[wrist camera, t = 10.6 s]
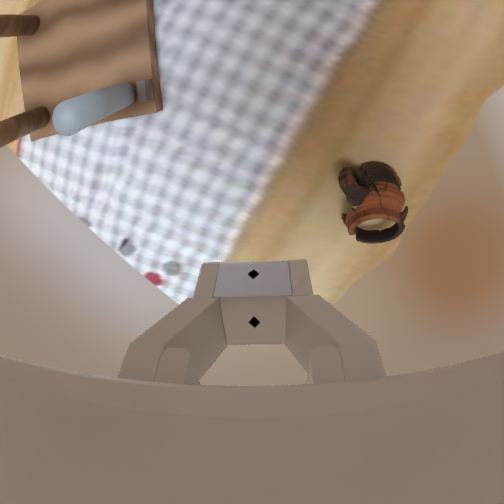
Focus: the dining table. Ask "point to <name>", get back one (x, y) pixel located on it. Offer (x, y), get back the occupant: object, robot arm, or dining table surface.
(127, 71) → the stool seat
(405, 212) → the pottery mug
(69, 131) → the hinged leg
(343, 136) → the dining table surface
